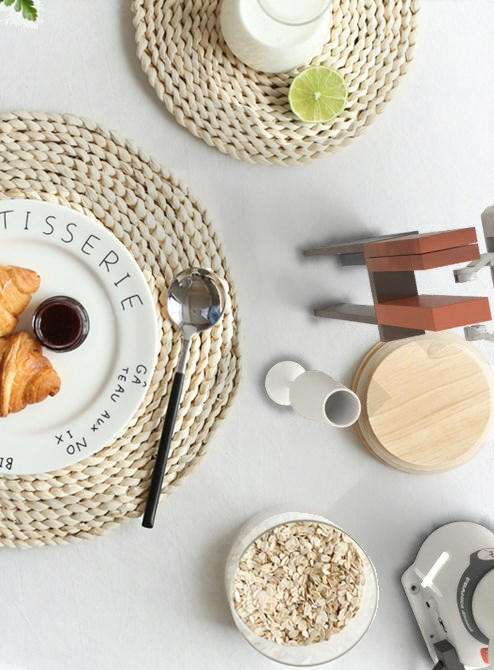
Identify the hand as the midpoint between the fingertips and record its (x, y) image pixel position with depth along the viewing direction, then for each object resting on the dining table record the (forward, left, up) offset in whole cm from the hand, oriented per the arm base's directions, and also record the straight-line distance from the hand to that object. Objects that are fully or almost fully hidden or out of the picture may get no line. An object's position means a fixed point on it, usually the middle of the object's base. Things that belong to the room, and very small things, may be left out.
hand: (461, 305), depth 90 cm
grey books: (+7, -2, -34) cm, 35 cm away
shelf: (+3, +4, -9) cm, 10 cm away
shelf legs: (+3, +4, -34) cm, 34 cm away
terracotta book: (0, +4, -8) cm, 9 cm away
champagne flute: (-10, +12, -34) cm, 38 cm away
